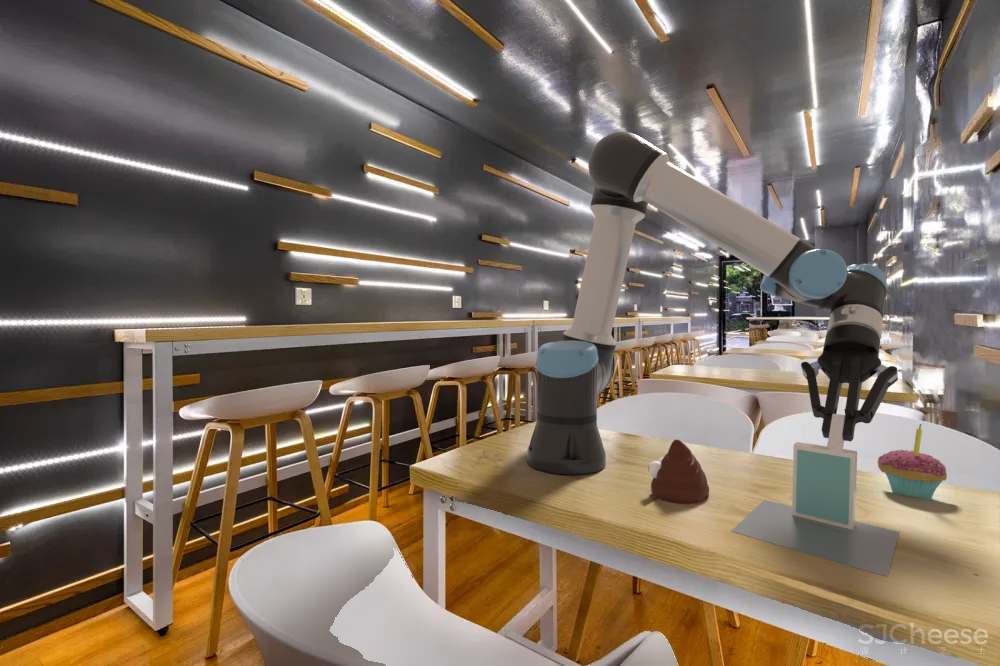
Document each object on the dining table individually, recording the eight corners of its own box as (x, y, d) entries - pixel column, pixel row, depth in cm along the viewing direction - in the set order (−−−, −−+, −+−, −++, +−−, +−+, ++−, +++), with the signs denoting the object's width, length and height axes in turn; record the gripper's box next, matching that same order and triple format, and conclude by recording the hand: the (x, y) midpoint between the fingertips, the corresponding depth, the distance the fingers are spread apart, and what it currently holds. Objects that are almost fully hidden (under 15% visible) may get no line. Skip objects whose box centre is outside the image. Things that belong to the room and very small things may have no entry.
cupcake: (960, 508, 73) (963, 428, 72) (895, 503, 74) (898, 425, 74) (923, 488, 81) (925, 416, 81) (865, 484, 83) (867, 414, 82)
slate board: (730, 535, 63) (730, 531, 63) (764, 503, 74) (764, 499, 74) (887, 581, 52) (887, 576, 52) (899, 536, 63) (899, 531, 63)
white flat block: (791, 515, 68) (793, 444, 68) (795, 510, 70) (797, 441, 70) (852, 530, 64) (854, 454, 63) (855, 525, 65) (857, 451, 65)
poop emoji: (692, 513, 71) (693, 449, 70) (638, 498, 77) (639, 439, 76) (717, 495, 78) (718, 437, 78) (666, 482, 84) (667, 428, 83)
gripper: (804, 321, 84) (778, 434, 73) (901, 321, 76) (889, 449, 64) (810, 350, 89) (786, 461, 77) (903, 353, 80) (892, 479, 68)
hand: (833, 456), depth 70 cm, fingers closed
